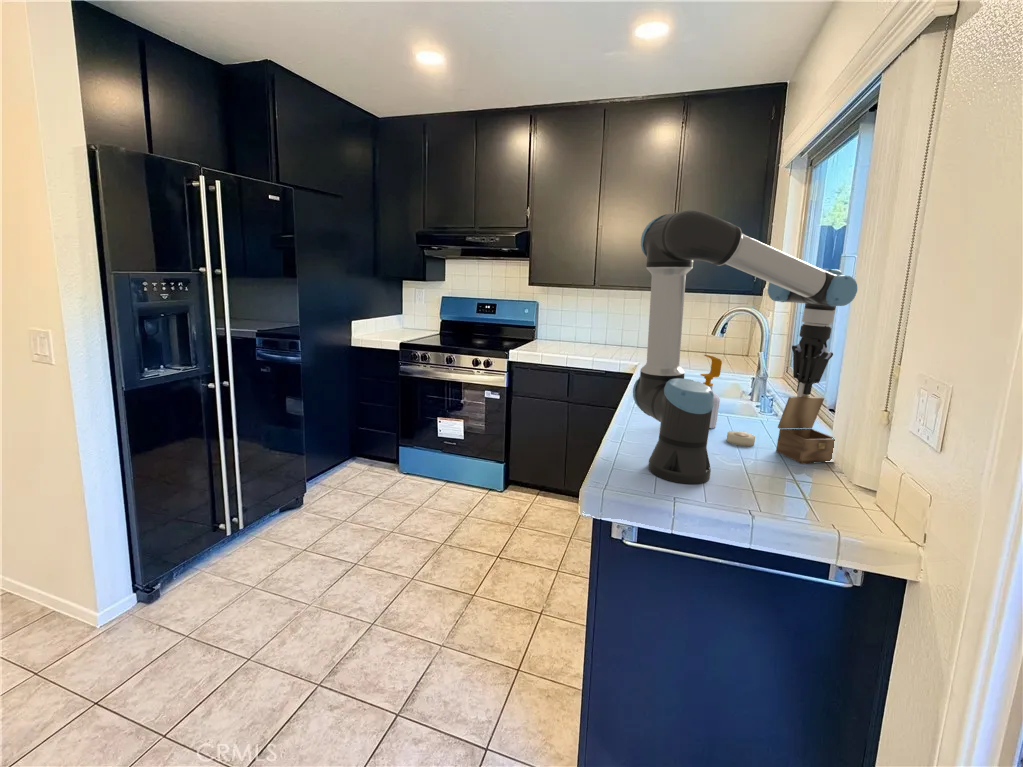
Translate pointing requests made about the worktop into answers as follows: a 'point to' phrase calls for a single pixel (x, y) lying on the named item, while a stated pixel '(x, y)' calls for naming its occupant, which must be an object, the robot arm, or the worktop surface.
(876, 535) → the worktop surface
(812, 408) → the lid
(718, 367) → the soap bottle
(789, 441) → the chest
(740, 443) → the domed cap
